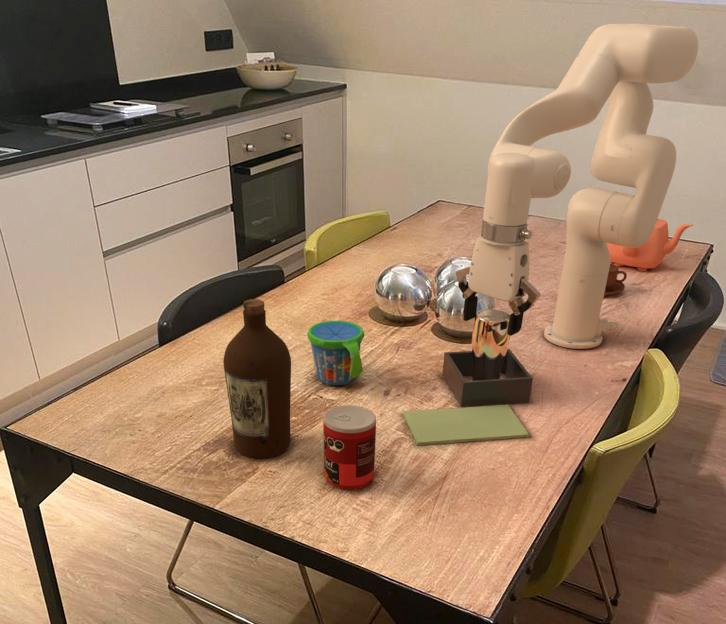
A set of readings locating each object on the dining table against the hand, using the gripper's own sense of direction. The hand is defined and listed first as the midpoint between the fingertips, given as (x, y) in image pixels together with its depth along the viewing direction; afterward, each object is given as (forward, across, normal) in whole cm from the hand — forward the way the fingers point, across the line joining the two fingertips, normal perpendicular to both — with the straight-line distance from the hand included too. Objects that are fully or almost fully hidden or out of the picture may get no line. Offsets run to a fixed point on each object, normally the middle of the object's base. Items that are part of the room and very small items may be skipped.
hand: (491, 326), depth 140 cm
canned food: (+14, -2, +40) cm, 43 cm away
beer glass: (+13, 0, -1) cm, 13 cm away
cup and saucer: (+12, +10, -67) cm, 69 cm away
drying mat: (+13, -6, +14) cm, 20 cm away
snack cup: (+14, +24, +16) cm, 32 cm away
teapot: (+11, +13, -94) cm, 96 cm away
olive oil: (+14, +15, +43) cm, 48 cm away
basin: (+13, 0, -1) cm, 13 cm away
